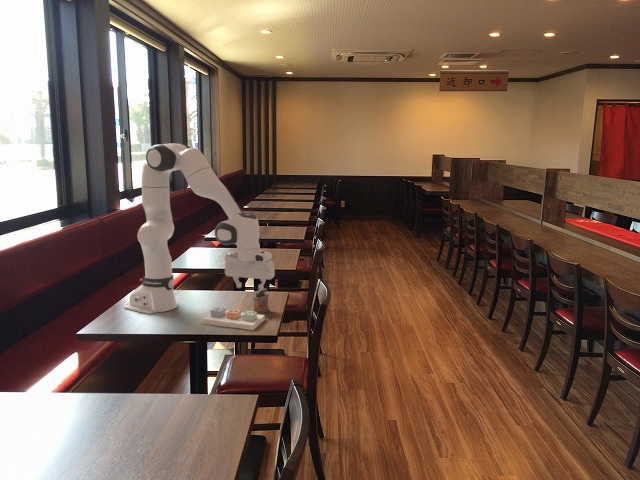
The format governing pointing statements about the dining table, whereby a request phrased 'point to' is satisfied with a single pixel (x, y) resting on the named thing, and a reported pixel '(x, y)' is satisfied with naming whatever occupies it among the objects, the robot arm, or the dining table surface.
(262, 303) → the lighter
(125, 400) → the dining table surface
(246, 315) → the button sage
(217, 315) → the button slate
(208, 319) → the panel
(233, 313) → the button terracotta
